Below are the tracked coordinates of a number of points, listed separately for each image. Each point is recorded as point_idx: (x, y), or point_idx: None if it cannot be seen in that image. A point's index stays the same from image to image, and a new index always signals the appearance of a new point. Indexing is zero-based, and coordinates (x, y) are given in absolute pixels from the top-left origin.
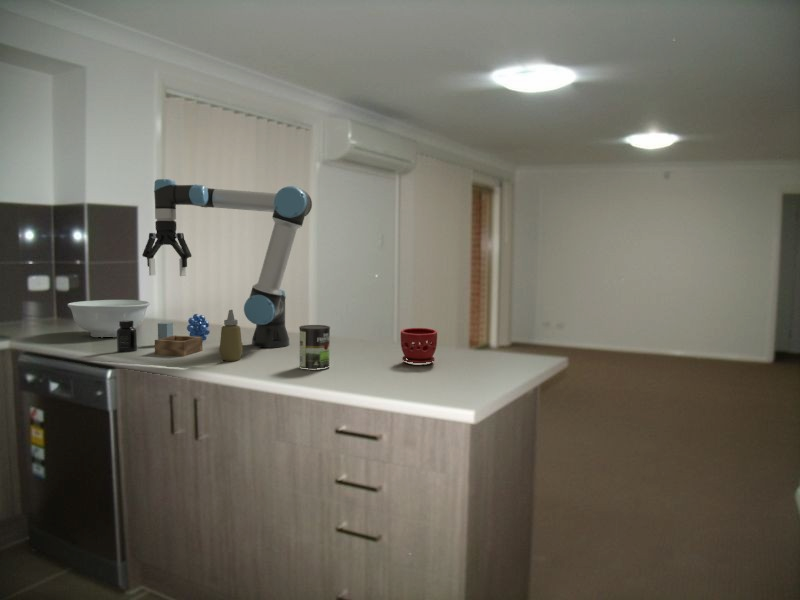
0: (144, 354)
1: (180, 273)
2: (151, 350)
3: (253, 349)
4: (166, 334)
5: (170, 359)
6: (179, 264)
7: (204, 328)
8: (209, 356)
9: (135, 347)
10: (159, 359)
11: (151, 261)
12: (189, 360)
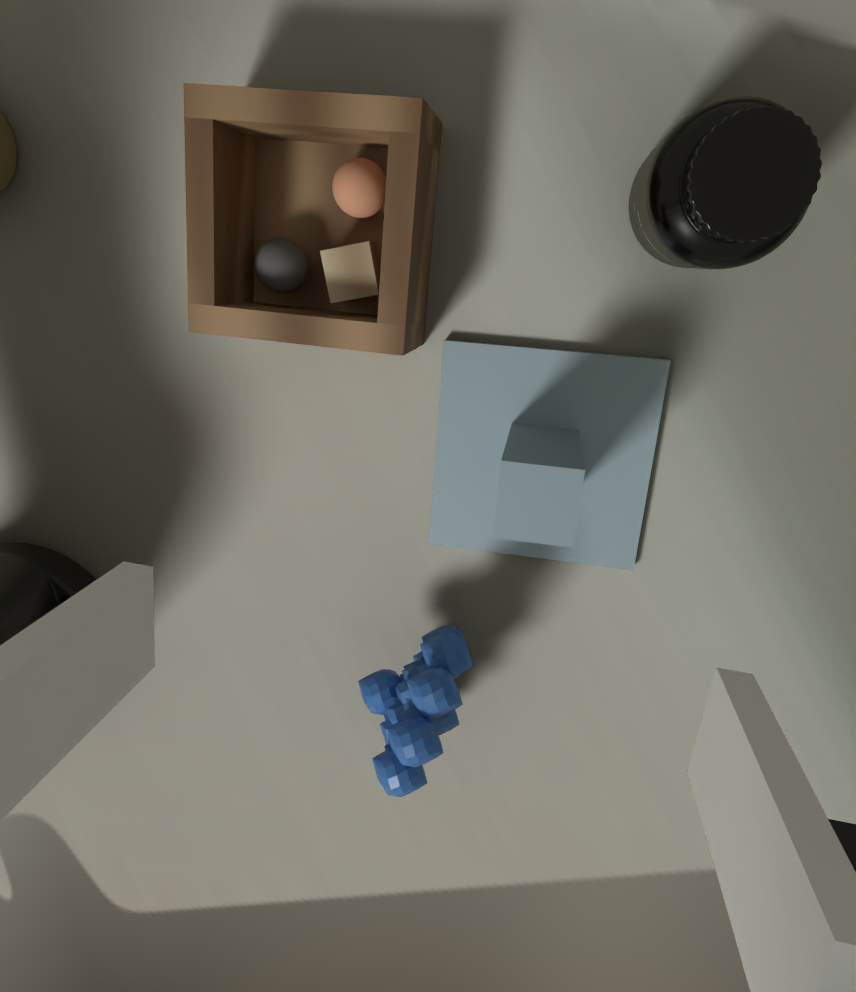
0: (545, 175)
1: (114, 582)
2: (574, 327)
3: (46, 490)
4: (511, 441)
5: (296, 52)
6: (19, 668)
7: (365, 678)
8: (140, 222)
9: (631, 199)
10: (360, 29)
11: (792, 900)
12: (174, 57)
